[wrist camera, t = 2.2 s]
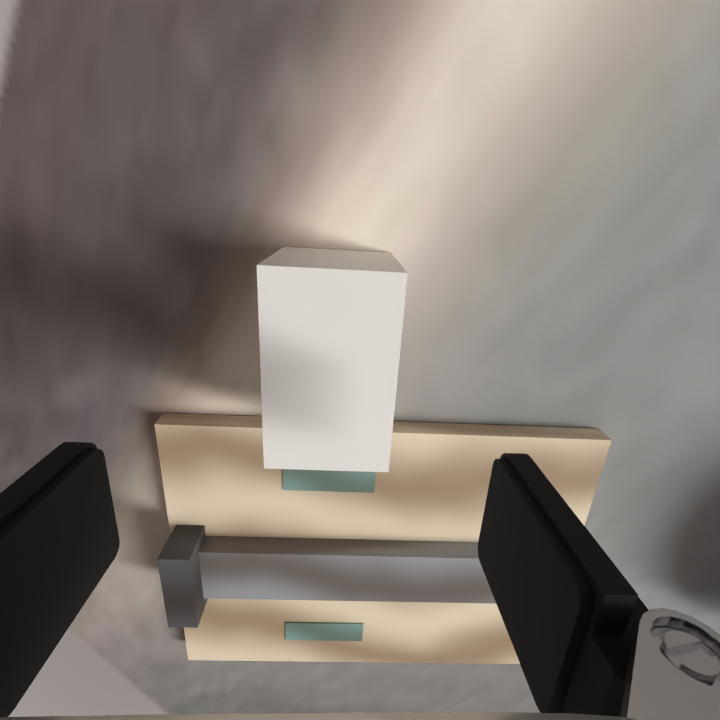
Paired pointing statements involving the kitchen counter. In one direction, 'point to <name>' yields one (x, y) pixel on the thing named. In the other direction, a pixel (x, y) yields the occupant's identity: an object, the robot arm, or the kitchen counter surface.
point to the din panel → (345, 541)
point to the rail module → (329, 357)
